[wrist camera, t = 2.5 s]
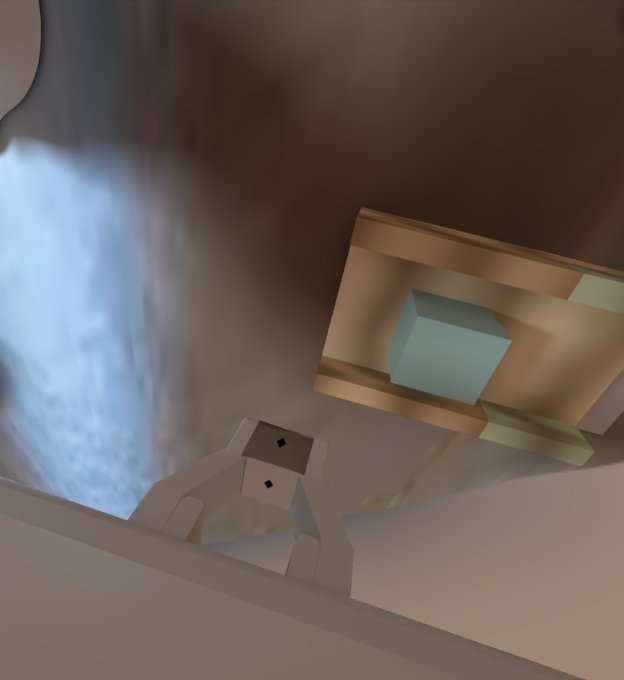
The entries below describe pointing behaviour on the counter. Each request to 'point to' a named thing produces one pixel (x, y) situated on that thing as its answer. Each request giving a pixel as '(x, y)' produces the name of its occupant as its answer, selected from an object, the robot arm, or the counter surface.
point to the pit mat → (605, 408)
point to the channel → (509, 310)
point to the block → (446, 346)
